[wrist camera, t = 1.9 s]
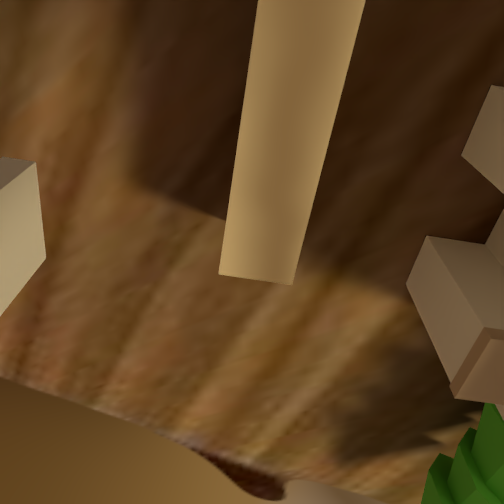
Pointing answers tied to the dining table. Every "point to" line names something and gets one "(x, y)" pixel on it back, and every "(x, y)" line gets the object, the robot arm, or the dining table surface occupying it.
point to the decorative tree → (471, 466)
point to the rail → (285, 131)
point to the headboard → (469, 280)
